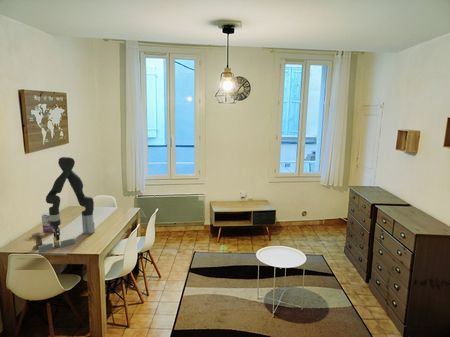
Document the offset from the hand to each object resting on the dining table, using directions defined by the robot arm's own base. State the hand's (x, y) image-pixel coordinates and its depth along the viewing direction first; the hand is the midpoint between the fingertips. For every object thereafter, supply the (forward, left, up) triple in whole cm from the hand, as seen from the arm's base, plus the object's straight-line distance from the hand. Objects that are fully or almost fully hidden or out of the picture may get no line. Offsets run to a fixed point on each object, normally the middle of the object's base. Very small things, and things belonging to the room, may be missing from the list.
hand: (56, 238), depth 259 cm
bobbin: (+11, -8, -8) cm, 16 cm away
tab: (0, 0, -7) cm, 7 cm away
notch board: (0, 0, -8) cm, 8 cm away
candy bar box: (-4, -40, -8) cm, 41 cm away
